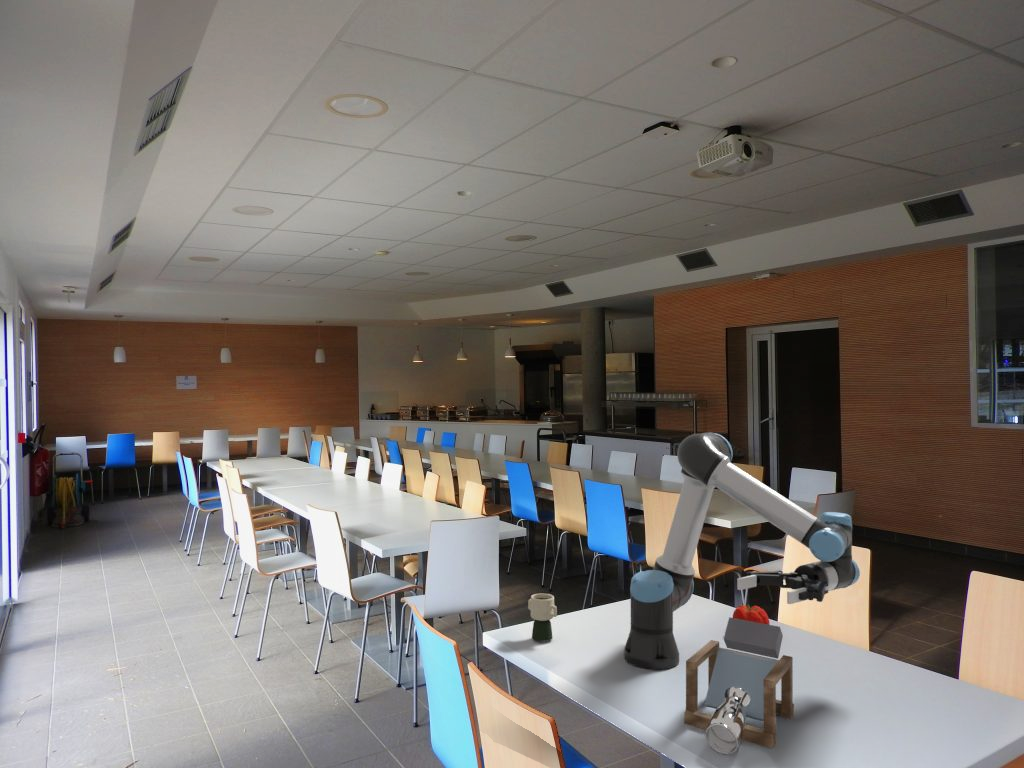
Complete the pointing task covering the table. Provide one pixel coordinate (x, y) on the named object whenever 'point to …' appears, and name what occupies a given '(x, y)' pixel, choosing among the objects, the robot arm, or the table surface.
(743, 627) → the trapdoor
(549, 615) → the character mug
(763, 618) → the tomato
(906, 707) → the table surface
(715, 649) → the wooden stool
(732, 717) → the beer glass
